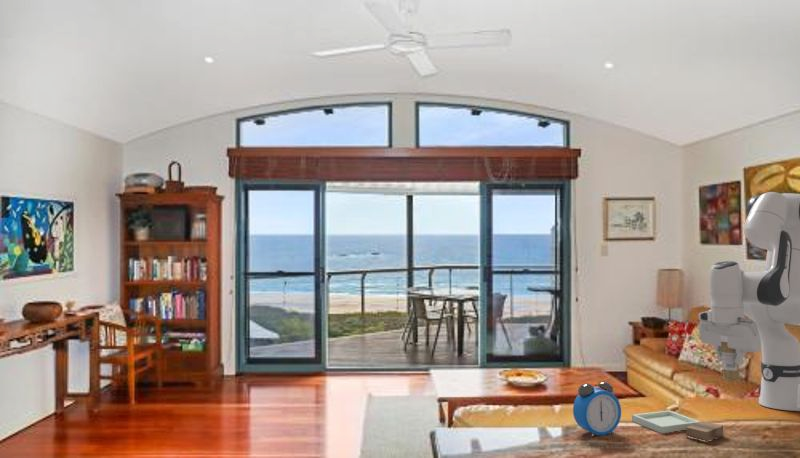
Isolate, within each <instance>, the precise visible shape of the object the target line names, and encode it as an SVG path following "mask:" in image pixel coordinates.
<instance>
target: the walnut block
mask: <svg viewBox="0 0 800 458" xmlns="http://www.w3.org/2000/svg"><path fill="white" fill-rule="evenodd" d="M685 434H686V435H685V436H690V437H693V438H697V439H701V440H705V441H709V440H712V439H716V438H718V439H720V438H719V437H721V438H722V437H724V426H723V425H722V424H721V425H720V424H717V423H711V422H707V421H704V420H703V421H700V422H699V423H697V424H694V425H691V426H688V427H686V431H685ZM716 440H717V439H716Z"/></svg>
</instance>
